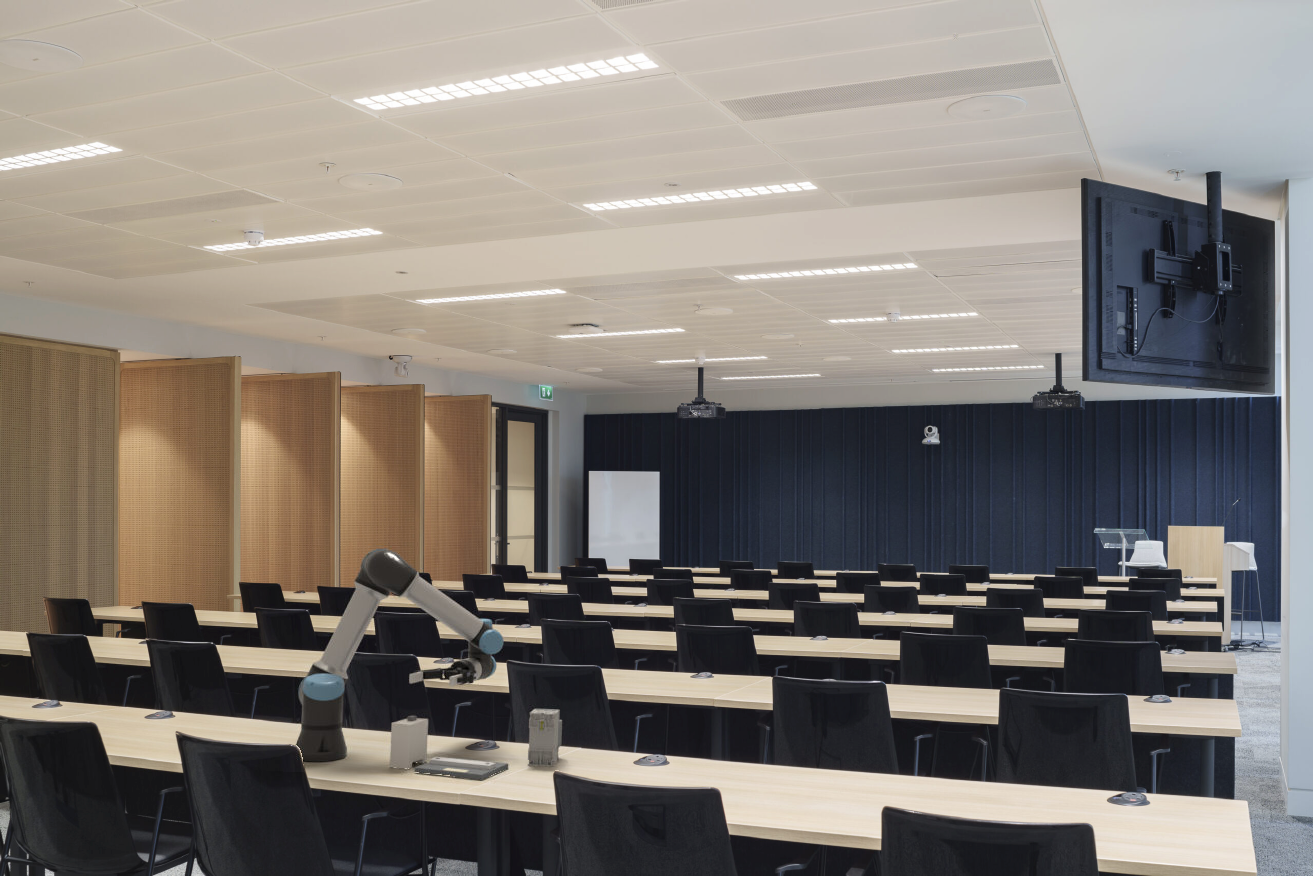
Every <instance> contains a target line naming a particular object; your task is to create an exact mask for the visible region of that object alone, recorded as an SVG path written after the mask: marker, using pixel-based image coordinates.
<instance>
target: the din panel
mask: <svg viewBox="0 0 1313 876" xmlns="http://www.w3.org/2000/svg"><path fill="white" fill-rule="evenodd" d="M428 761H429V762H426V763H424V764H419V765H418V766H416V767H414V773H415V772H419V773H430V774H442V775H450V776H455V777H462V778H461V779H464V778H469V779H468V780H473V779H477V780H476V781H484V780H485V778H486V779H488V778H490V777H489V776H491V775H493V774H495V773H497V774H499V773H498V772H500V771H502V772H504V771H506V770H509V763H508V762H498V761H489V760H481V759H480V760H479V759H469V758H462V757H461V758H459V757H450V756H435V757H432V758H429V760H428ZM505 769H506V770H505ZM503 770H504V771H503ZM419 773H418V774H419ZM500 773H501V772H500ZM495 775H496V774H495ZM493 776H494V775H493ZM455 777H454V778H455ZM487 777H488V778H487ZM491 777H492V776H491ZM483 779H484V780H483Z"/></svg>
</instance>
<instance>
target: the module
mask: <svg viewBox="0 0 1313 876" xmlns="http://www.w3.org/2000/svg"><path fill="white" fill-rule="evenodd" d="M417 716H418V715H409V716H407V718H403V719H400V720H397V721H394V722H391V731H390V733H391V734H390V753H389V754H390V756H389V757H390V758H389V768H390V767H396V768H395V769H399V768H407V769H406V770H409V769H408V768H411V767H412V768H413V764H414V763H413V762H417V763H416V764H418V763H424V762H426V763H427V761H428V760H427V753H428V752H427V751H428V736H429V735H428V734H429V733H428V732H429V719H428V718H420V717H419V718H418V717H417ZM424 764H425V763H424ZM412 768H411V769H412Z"/></svg>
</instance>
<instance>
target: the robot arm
mask: <svg viewBox="0 0 1313 876" xmlns="http://www.w3.org/2000/svg"><path fill="white" fill-rule="evenodd" d="M353 583H354V586H355V590H354V592H353V594H352V596H351V598H350V600H349V602H348V604H347V607H346V608H345V610H344V613H343V614H342V616H341V618H340V620H339V622H338V624H337V626H336V628H335V631H334V632H333V634H332V635H331V638H330V640H329V642H328V644H327V645H326V648H325V650H324V651H323V654H322V656H321V658H320V659H319V660H317V661H314V662H312V665H311V666H310V668H309V671H308V673H307V674H306V676H304V677H303V680H301V682H300V684H299V687H298V691H297V692H298V693H297V694H298V700H299V702H300V704H301V706H302V707H301V724H300V725H301V727H300V733H299V735H298V737H297V741H296V743H295V746H296V745H297V746H298V747H299V748H300V750H301V753H302V757H303V760H304V761H303V762H317V763H318V762H329V761H330V762H331V761H332V762H333V761H337V760H338V761H339V760H341V759H344V758H346V757H347V755H348V746H347V744H346V740H345V739H346V738H345V736H344V732H343V711H344V709H343V708H344V693H345V689H346V688H345V685H346V683H347V681H348V679H349V677H348V674H347V670H348V668H349V666H350V663H351V662H352V660H353V657H354V656H355V653H356V652H357V650H358V647H359V646H360V643H361V642H362V640H363V638H364V635H365V634H366V631H367V630H368V628H369V625H370V624H371V622H372V619H373V618H374V615H375V614H376V611H377V609H378V607H379V605H380V603H381V601H382V600H385V599H387V598H389V597H390V594H391V593H393V594H394V595H395V596H397V597H398V598H406V599H407V600H408V601H410V602H411V603H412V604H414V605H416V606H417V607H419V608H420V609H421V610H423V611H425V612H426V613H427V614H428V615H430V616H431V617H433V618H434V619H436V620H437V621H438V622H440V623H442V624H443V625H445V626H446V627H447V628H449V629H450V630H451V631H453V632H454V633H456V634H457V635H458V636H460V637H462V638H463V639H464V640H466V641H467V642H468V652H467V653H468V654H467V655H468V656H467V657H468V658H464V659H460V660H459V659H458V660H456V661H454V662H453V663H452V664H451V665H450V666H449V667H445V668H441V667H438V668H430V669H429V668H428V669H420V670H414V672H413V673H409V677H408V678H409V679H408V680H409V682H408V683H409V684H415V683H421V682H422V681H423V680H424V681H425V680H441V681H448V682H449V683H448V687H455V686H457V685H460V686H462V685H465V684H468V685H470V684H473V683H474V682H476V681H479V680H486V679H487V678H489V677H491V676H493V675H494V674H495V672H496V670H497V661H496V660H495V657H493V656H492V655H495V654H497V653H499V652H500V651H501V650H502V648H503V646H504V638H503V635H502V634H501V632H499V631H498V630H496V629H494V627H493V620H492V619H489V618H479V617H477V616H476V615H475V614H472V613H471V612H470V611H469V610H467V609H466V608H465V607H463V606H462V605H460V604H459V603H457V602H456V600H453V599H452V598H451V597H449V596H448V595H446V594H445V593H443V592H442V591H441V590H439V589H437V587H435V586H434V585H432V584H431V583H430V582H428V581H426V580H425V579H424V578H422V577H421V576H420V574H419V571H418V570H417V569H415V568H414V567H413V566H411V564H409V563H408V562H407V561H406V560H405V559H404V558H403V557H402V556H401V555H400V554H399V553H397V552H395V551H393V550H390V549H387V548H377V549H374V550H371V551H370V552H368V553H367V554H366V555H365V556H364V557H363V559H362V561H361V564H360V569H359V572H358V573H357V575H356V577H355V579H354V581H353Z"/></svg>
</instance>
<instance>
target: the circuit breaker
mask: <svg viewBox="0 0 1313 876" xmlns="http://www.w3.org/2000/svg"><path fill="white" fill-rule="evenodd" d="M560 711H561V710H560V709H553V708H551V709H550V708H534V709H533V710H532V711H530V712H529V719H528V721H529V722H528V723H529V724H528V728H529V734H528V735H529V736H528V737H529V739H528V750H527V752H528V753H527V760H528V763H527V766H534V765H542V766H541V767H554V766H555V765H556V764H555V763H557V762H558V761H559V748H560V747H561V746H562V733H563V731H562V730H563V720H562V719H560V718H561V717H560V714H561V713H560ZM554 764H555V765H554Z"/></svg>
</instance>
